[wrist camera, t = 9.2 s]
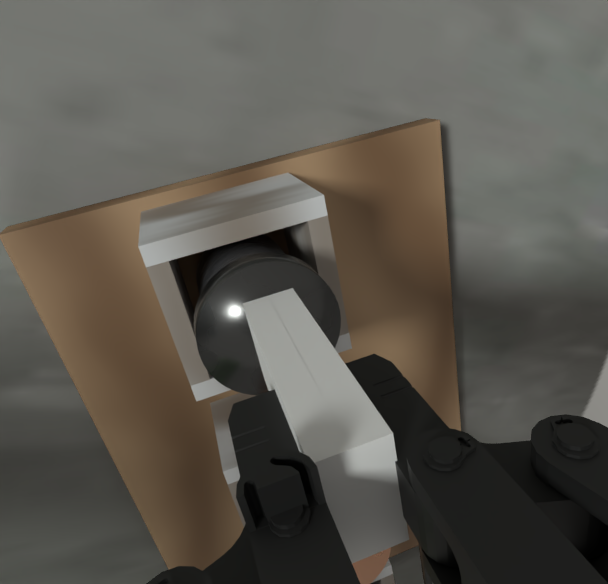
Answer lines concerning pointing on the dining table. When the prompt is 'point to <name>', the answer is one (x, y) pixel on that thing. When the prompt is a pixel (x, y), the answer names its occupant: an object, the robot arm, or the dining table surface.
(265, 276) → the black plunger
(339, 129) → the dining table surface
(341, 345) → the panel
